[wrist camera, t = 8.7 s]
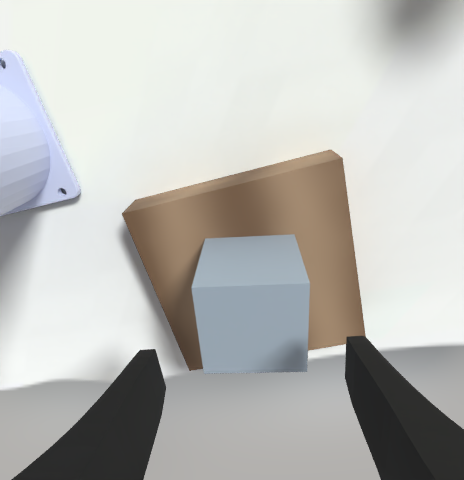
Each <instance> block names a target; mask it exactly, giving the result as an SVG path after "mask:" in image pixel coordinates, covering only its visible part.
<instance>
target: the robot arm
mask: <svg viewBox="0 0 464 480" xmlns="http://www.w3.org/2000/svg"><path fill="white" fill-rule="evenodd" d="M2 59H3V60H4V61H5V63H6V68H5V69H4V68H3V67H2V66H1V60H2ZM61 188H63V189H65V191H66V193H67V194H66V195H65V194H63V193H62V192H61ZM80 191H81V189H80V186H79V184H78V182H77V179H76V177H75V175H74V173H73V171H72V168H71V166H70V164H69V162H68V159H67V157H66V155H65V153H64V151H63V148H62V146H61V144H60V142H59V139H58V137H57V135H56V133H55V131H54V128H53V126H52V124H51V122H50V120H49V117H48V115H47V113H46V111H45V108H44V106H43V104H42V102H41V100H40V97H39V95H38V93H37V91H36V88H35V86H34V84H33V82H32V80H31V77H30V75H29V73H28V71H27V68H26V66H25V64H24V62H23V60H22V58H21V56H20V55H19V54H18V53H17V52H15V51H12V50H4V51H1V52H0V216H3V215H7V214H11V213H15V212H19V211H23V210H27V209H31V208H35V207H39V206H43V205H47V204H51V203H56V202H60V201H64V200H68V199H72V198H75V197H77V196H78V195H79V194H80ZM345 379H346V383H347V387H348V391H349V394H350V398H351V402H352V405H353V408H354V410H355V413H356V415H357V418H358V421H359V424H360V426H361V429H362V431H363V434H364V436H365V439H366V442H367V444H368V447H369V449H370V452H371V454H372V457H373V460H374V462H375V465H376V467H377V469H378V472H379V475H380V478H381V480H464V429H462V428H461V427H460V426H458V425H457V424H456V423H455V422H453V421H452V420H451V419H450V418H448V417H447V416H446V415H445V414H444V413H442V412H441V411H440V410H439V409H438V408H436V407H435V406H434V405H433V404H432V403H431V402H430V401H428V400H427V399H426V398H425V397H424V396H423V395H422V394H421V393H420V392H418V391H417V390H416V389H415V388H414V387H413V386H412V385H411V384H410V383H409V382H408V381H407V380H406V379H405V378H404V377H403V376H402V375H401V374H400V373H399V372H398V371H397V370H396V369H395V368H394V367H393V366H392V365H391V364H390V363H389V362H388V361H387V360H386V359H385V358H384V357H383V356H382V355H381V354H380V352H379V351H378V350H377V349H376V348H375V347H374V346H373V345H372V344H371V342H370V341H369V340H368V339H367V338H366V337H365V336H349V337H346V367H345ZM165 391H166V386H165V382H164V379H163V375H162V372H161V368H160V364H159V361H158V357H157V354H156V350H155V349H150V350H140V351H139V352H138V353H137V354H136V355H135V357H134V358H133V359H132V360H131V361H130V363H129V364H128V365H127V366H126V367H125V369H124V370H123V371H122V372H121V374H120V375H119V376H118V377H117V378H116V380H115V381H114V382H113V383H112V384H111V386H110V387H109V388H108V389H107V390H106V391H105V393H104V394H103V395H102V396H101V397H100V398H99V399H98V400H97V402H96V403H95V404H94V405H93V406H92V407H91V408H90V409H89V410H88V411H87V413H85V415H84V416H83V417H82V418H81V419H80V420H79V421H78V422H77V423H76V424H75V425H74V426H73V427H72V428H71V429H70V430H69V431H68V432H67V433H66V434H65V435H63V436H62V437H61V438H60V439H59V440H58V441H57V442H56V443H55V444H54V445H53V446H52V447H50V448H49V449H48V450H47V451H46V452H45V453H44V454H42V455H41V456H40V457H39V458H37V459H36V460H35V461H34V462H33V463H32V464H30V465H29V466H28V467H27V468H26V469H24V470H23V471H22V472H21V473H19V474H18V475H17V476H16V477H14V478H13V479H12V480H143V479H144V475H145V471H146V468H147V465H148V461H149V458H150V454H151V451H152V447H153V444H154V440H155V436H156V433H157V430H158V426H159V423H160V419H161V415H162V409H163V404H164V397H165Z"/></svg>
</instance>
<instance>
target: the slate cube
mask: <svg viewBox="0 0 464 480" xmlns="http://www.w3.org/2000/svg"><path fill="white" fill-rule="evenodd" d="M191 288H192V295H193V302H194V309H195V316H196V323H197V329H198V336H199V343H200V350H201V357H202V364H203V370H204V374H210V373H262V372H263V373H264V372H307V358H308V328H309V298H310V282H309V279H308V275H307V272H306V269H305V266H304V263H303V260H302V256H301V253H300V250H299V247H298V244H297V241H296V238H295V234H291V235H270V236H249V237H228V238H207V239H205V241H204V244H203V248H202V251H201V255H200V259H199V262H198V266H197V269H196V273H195V277H194V280H193V284H192V287H191Z"/></svg>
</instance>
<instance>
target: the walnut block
mask: <svg viewBox="0 0 464 480" xmlns="http://www.w3.org/2000/svg"><path fill="white" fill-rule="evenodd" d="M122 215H123V217H124V220H125V222H126V224H127V227H128V229H129V231H130V234H131V236H132V238H133V241H134V243H135V245H136V248H137V250H138V252H139V254H140V257H141V259H142V261H143V264H144V266H145V268H146V271H147V273H148V275H149V278H150V280H151V282H152V285H153V287H154V289H155V292H156V294H157V296H158V299H159V301H160V303H161V305H162V308H163V310H164V312H165V315H166V317H167V319H168V322H169V324H170V326H171V329H172V331H173V333H174V336H175V338H176V340H177V343H178V345H179V347H180V350H181V352H182V354H183V356H184V359H185V361H186V363H187V366H188V368H189V370H190V371H191V370H197V369H203V364H202V357H201V350H200V343H199V336H198V329H197V323H196V316H195V309H194V302H193V295H192V288H191V287H192V284H193V280H194V277H195V273H196V269H197V266H198V262H199V259H200V255H201V251H202V248H203V244H204V241H205V239H207V238H228V237H249V236H270V235H291V234H295V238H296V241H297V244H298V247H299V250H300V253H301V256H302V260H303V263H304V266H305V269H306V272H307V275H308V279H309V282H310V298H309V328H308V350H314V349H320V348H326V347H331V346H337V345H343V344H346V337H349V336H365V329H364V321H363V313H362V305H361V298H360V290H359V282H358V275H357V267H356V259H355V251H354V244H353V236H352V228H351V220H350V213H349V205H348V197H347V189H346V182H345V174H344V166H343V159H342V157H340V156H339V155H338V154H336V153H335V152H334V151H332V150H327V151H323V152H320V153H316V154H312V155H308V156H304V157H300V158H296V159H292V160H288V161H285V162H281V163H277V164H273V165H269V166H265V167H261V168H257V169H253V170H250V171H246V172H242V173H238V174H234V175H230V176H226V177H222V178H219V179H215V180H211V181H207V182H203V183H199V184H195V185H191V186H187V187H184V188H180V189H176V190H172V191H168V192H164V193H160V194H156V195H153V196H149V197H145V198H141V199H137V200H135V201H134V202H133V203H132V204H131V205H130V206H129V207H128V208H127V209H126V210H125V211H124V212H123V213H122ZM365 337H366V336H365Z"/></svg>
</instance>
